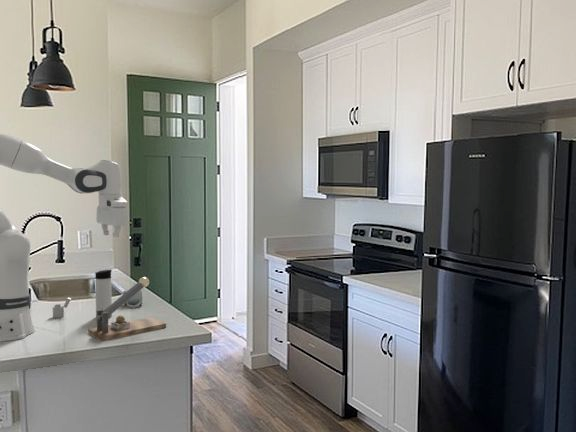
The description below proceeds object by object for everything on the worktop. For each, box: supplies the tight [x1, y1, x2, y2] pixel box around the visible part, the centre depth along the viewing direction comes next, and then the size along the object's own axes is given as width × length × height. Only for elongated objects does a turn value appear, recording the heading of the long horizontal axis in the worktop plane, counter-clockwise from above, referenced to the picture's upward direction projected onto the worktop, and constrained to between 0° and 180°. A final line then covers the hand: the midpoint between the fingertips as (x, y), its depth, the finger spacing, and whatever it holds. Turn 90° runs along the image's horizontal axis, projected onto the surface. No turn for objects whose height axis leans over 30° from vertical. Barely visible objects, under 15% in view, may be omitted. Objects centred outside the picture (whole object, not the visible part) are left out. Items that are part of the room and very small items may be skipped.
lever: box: [96, 276, 150, 322], centre depth 199 cm, size 24×4×4 cm
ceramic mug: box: [122, 288, 143, 309], centre depth 239 cm, size 11×8×8 cm
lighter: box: [52, 297, 72, 319], centre depth 219 cm, size 7×2×8 cm, turn 110°
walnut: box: [115, 315, 126, 324], centre depth 199 cm, size 3×3×3 cm
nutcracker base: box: [87, 310, 167, 341], centre depth 201 cm, size 26×12×9 cm, turn 133°
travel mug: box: [94, 269, 113, 319], centre depth 219 cm, size 6×7×20 cm
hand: (111, 236), depth 209 cm, fingers open, 8 cm apart
